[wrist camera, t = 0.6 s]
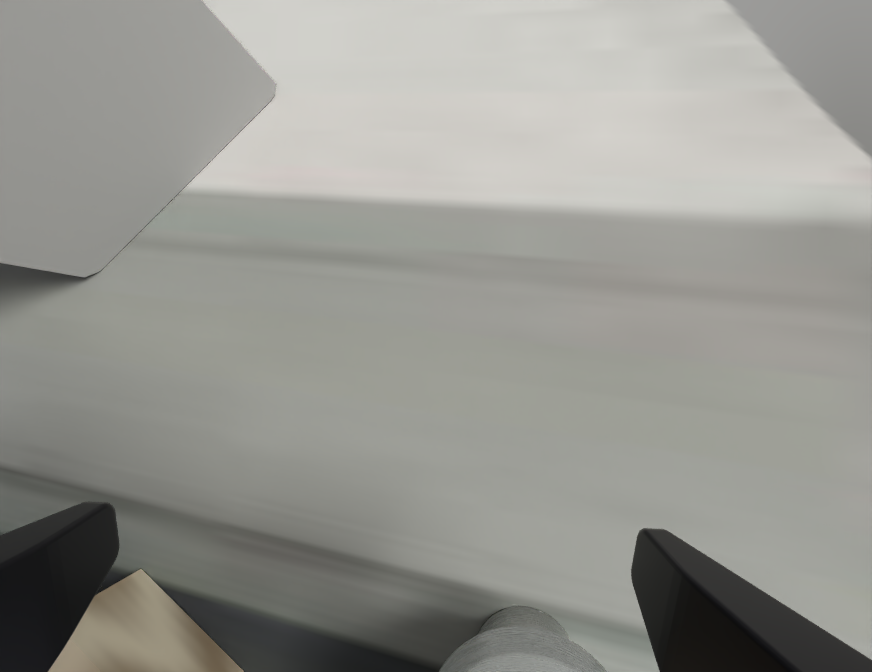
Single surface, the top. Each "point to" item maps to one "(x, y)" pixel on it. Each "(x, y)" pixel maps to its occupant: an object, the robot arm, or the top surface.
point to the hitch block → (139, 634)
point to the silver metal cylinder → (521, 646)
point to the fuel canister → (110, 120)
